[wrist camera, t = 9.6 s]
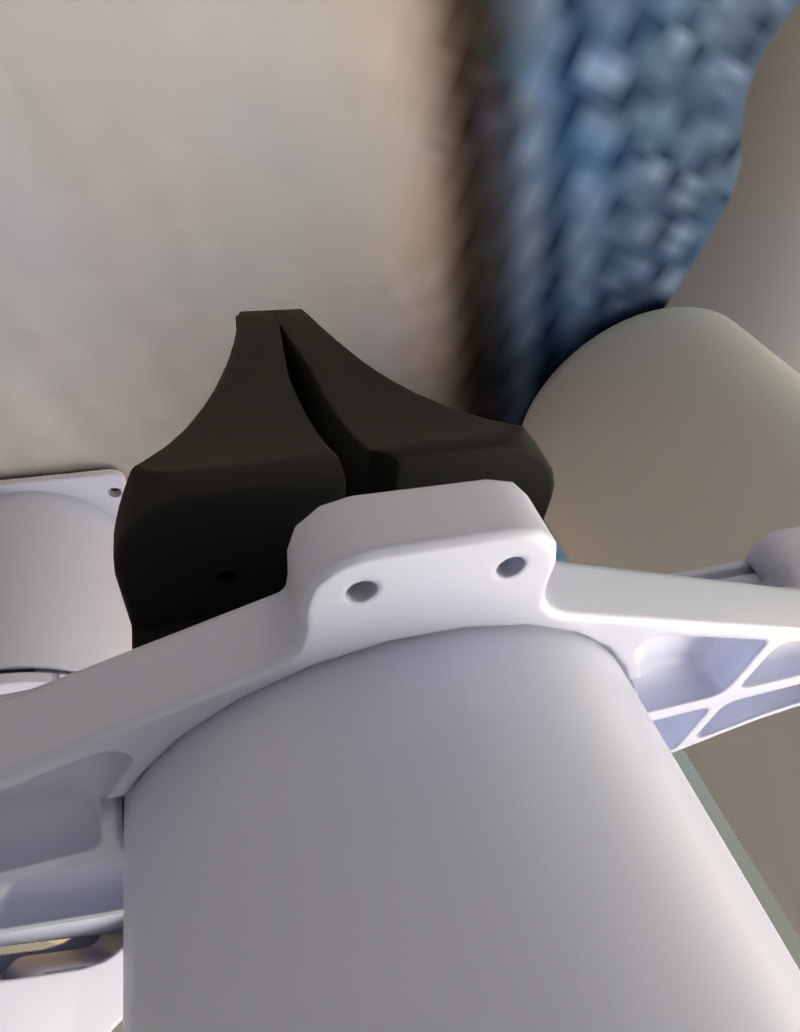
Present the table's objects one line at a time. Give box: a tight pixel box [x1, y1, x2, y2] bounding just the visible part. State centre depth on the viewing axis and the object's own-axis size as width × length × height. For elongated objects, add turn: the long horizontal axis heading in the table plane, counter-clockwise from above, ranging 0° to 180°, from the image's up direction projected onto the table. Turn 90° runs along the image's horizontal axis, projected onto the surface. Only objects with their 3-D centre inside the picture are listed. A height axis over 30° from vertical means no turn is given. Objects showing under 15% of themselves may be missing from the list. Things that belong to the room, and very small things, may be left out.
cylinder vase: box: [522, 306, 800, 940], centre depth 25 cm, size 12×12×25 cm
